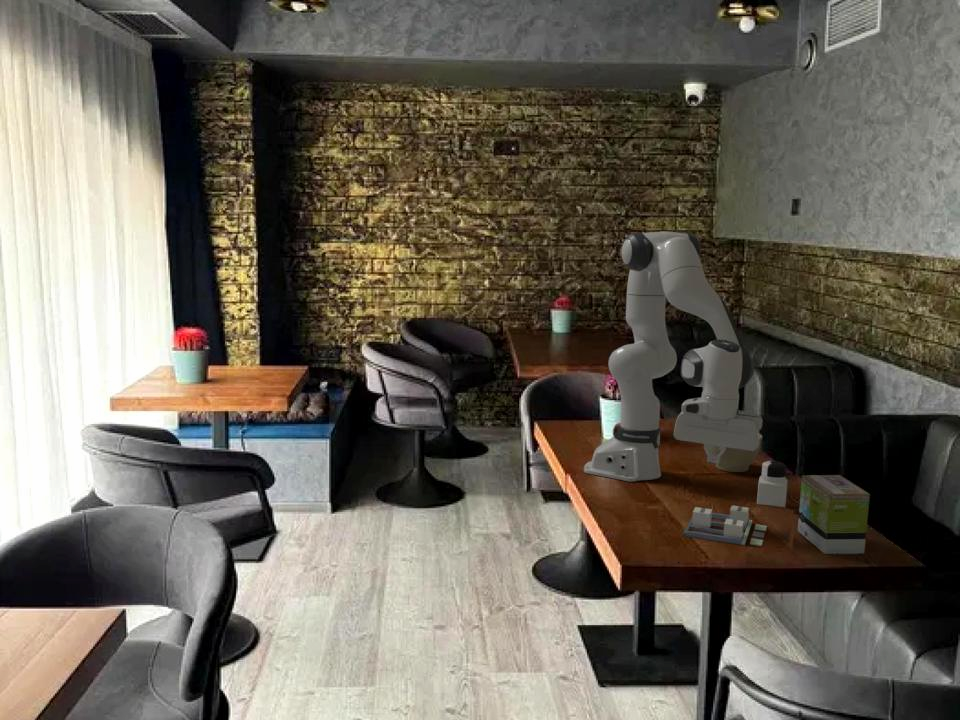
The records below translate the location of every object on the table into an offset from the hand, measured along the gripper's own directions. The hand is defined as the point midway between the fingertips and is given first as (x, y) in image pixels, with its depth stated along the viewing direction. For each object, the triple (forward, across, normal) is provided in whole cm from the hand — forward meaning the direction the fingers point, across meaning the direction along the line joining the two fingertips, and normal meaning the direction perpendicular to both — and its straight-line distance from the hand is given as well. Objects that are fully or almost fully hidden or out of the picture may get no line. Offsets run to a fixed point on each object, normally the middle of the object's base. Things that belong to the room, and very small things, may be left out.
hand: (713, 462), depth 226 cm
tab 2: (+14, -8, +13) cm, 21 cm away
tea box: (+15, -29, +1) cm, 32 cm away
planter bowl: (+17, +1, -55) cm, 58 cm away
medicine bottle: (+16, -14, -22) cm, 30 cm away
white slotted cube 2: (+14, 0, +8) cm, 16 cm away
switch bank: (+15, -4, +8) cm, 18 cm away
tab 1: (+14, -8, +2) cm, 16 cm away
